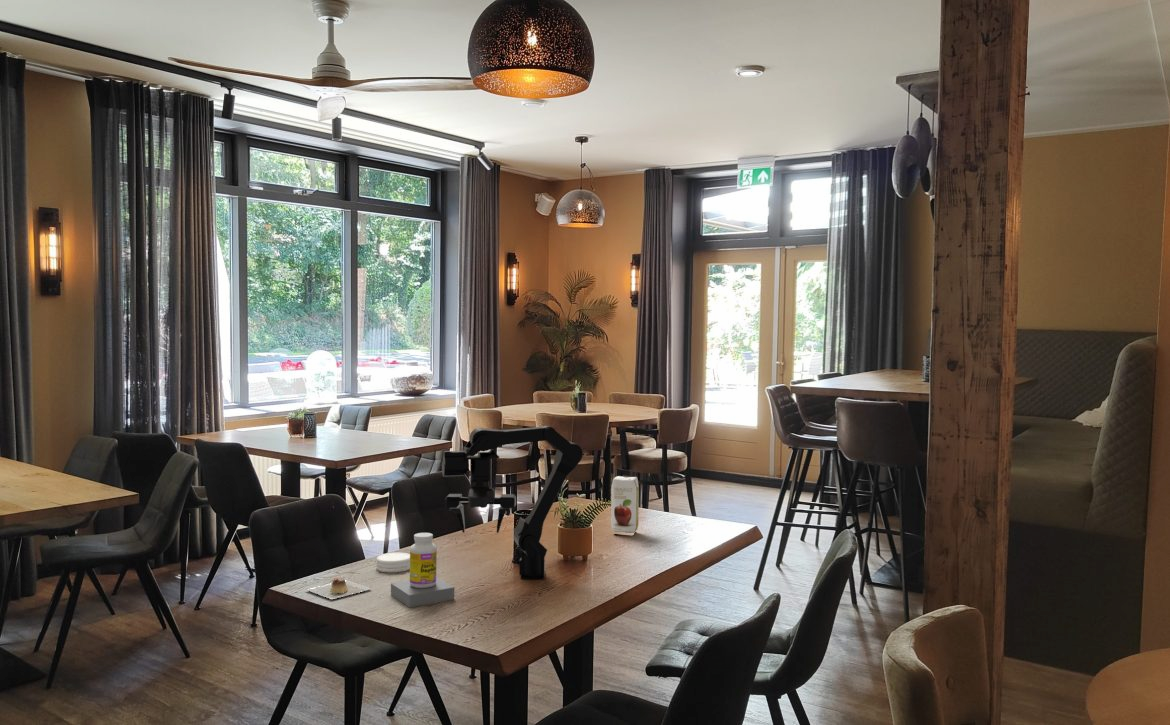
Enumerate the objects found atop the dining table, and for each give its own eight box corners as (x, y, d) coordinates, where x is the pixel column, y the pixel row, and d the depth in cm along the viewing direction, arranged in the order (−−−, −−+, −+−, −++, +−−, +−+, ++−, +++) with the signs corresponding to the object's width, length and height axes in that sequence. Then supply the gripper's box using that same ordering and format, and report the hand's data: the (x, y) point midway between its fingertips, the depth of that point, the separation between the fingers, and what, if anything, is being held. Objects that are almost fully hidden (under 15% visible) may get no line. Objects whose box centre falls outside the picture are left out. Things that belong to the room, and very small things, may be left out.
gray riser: (434, 587, 223) (434, 576, 223) (454, 599, 213) (454, 587, 213) (390, 594, 216) (390, 583, 216) (409, 607, 206) (409, 595, 206)
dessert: (305, 593, 219) (305, 575, 218) (345, 583, 228) (345, 566, 228) (331, 603, 211) (331, 584, 211) (372, 592, 220) (372, 574, 220)
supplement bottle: (418, 590, 210) (419, 539, 210) (404, 584, 215) (404, 534, 214) (441, 585, 215) (441, 534, 214) (427, 579, 219) (427, 530, 219)
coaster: (373, 565, 244) (373, 553, 244) (408, 562, 248) (408, 550, 248) (379, 575, 235) (379, 562, 235) (415, 571, 239) (415, 559, 239)
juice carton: (614, 530, 290) (615, 475, 289) (639, 532, 287) (640, 476, 287) (609, 535, 282) (610, 478, 282) (635, 537, 280) (635, 480, 280)
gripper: (441, 480, 221) (441, 539, 221) (513, 480, 221) (512, 540, 221) (448, 473, 232) (448, 529, 232) (516, 473, 232) (516, 530, 232)
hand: (480, 532), depth 229 cm, fingers open, 9 cm apart
